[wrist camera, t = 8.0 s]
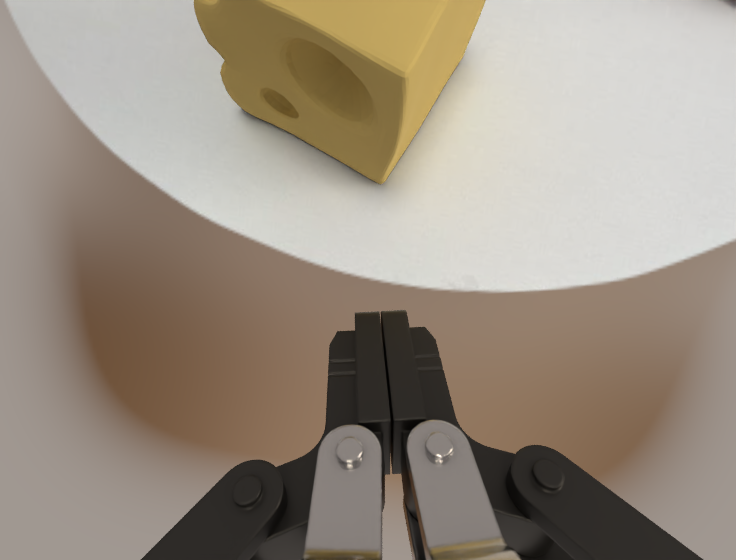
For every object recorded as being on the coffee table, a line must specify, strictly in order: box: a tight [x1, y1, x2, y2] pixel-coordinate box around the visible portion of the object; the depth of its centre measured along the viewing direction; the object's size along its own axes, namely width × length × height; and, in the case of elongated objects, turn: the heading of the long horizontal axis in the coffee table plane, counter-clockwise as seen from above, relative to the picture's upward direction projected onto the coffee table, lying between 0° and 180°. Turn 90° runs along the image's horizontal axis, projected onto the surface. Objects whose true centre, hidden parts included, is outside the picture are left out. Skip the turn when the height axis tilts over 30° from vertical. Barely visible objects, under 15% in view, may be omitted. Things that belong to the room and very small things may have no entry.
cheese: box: [194, 0, 486, 184], centre depth 18 cm, size 10×11×10 cm
